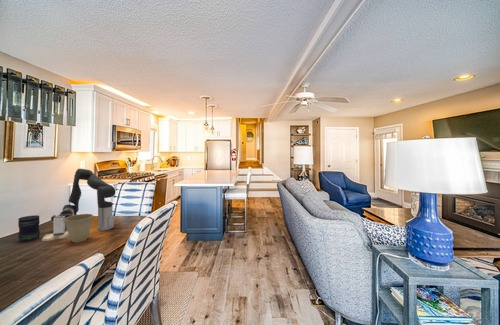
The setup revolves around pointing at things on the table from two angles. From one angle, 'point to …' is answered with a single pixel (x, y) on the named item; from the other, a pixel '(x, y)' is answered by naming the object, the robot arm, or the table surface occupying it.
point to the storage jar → (28, 228)
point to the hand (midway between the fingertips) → (62, 219)
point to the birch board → (51, 237)
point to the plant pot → (79, 226)
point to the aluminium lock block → (59, 226)
